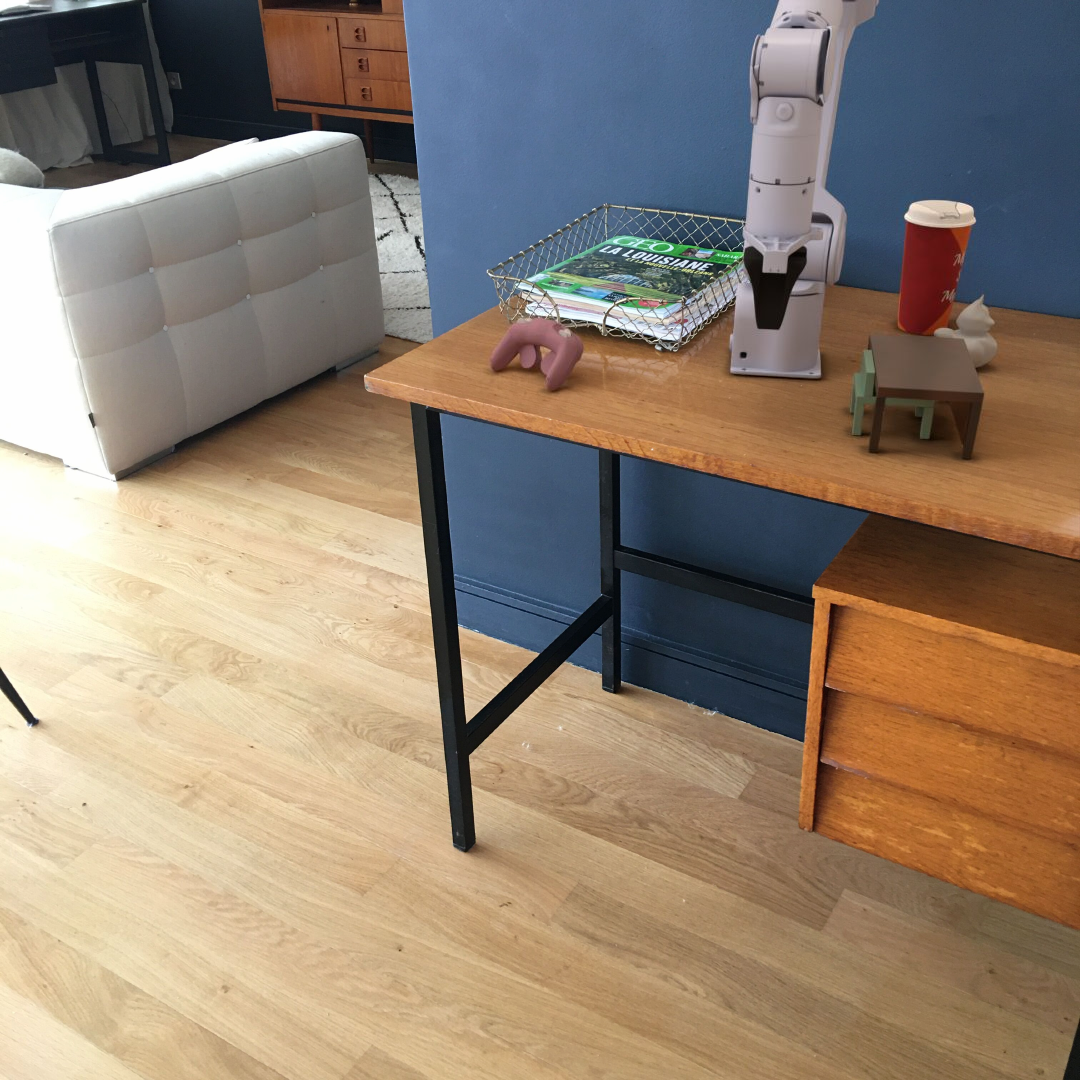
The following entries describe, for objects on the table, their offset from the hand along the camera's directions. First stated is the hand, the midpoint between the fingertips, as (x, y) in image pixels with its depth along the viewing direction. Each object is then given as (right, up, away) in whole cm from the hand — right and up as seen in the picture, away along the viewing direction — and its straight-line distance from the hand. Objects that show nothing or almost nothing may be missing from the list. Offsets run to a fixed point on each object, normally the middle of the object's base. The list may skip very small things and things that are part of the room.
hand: (768, 327), depth 103 cm
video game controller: (-22, -2, +16) cm, 27 cm away
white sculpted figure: (+24, -1, +16) cm, 29 cm away
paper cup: (+24, +5, +27) cm, 36 cm away
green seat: (+12, -9, +3) cm, 15 cm away
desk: (+15, -9, +3) cm, 17 cm away
